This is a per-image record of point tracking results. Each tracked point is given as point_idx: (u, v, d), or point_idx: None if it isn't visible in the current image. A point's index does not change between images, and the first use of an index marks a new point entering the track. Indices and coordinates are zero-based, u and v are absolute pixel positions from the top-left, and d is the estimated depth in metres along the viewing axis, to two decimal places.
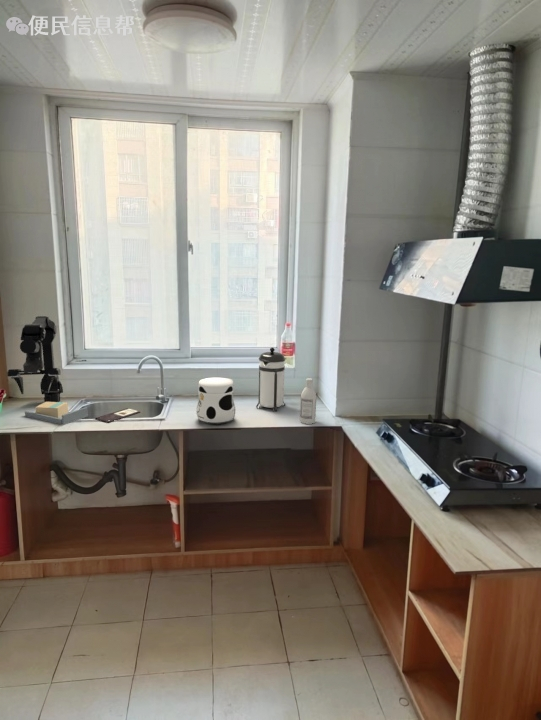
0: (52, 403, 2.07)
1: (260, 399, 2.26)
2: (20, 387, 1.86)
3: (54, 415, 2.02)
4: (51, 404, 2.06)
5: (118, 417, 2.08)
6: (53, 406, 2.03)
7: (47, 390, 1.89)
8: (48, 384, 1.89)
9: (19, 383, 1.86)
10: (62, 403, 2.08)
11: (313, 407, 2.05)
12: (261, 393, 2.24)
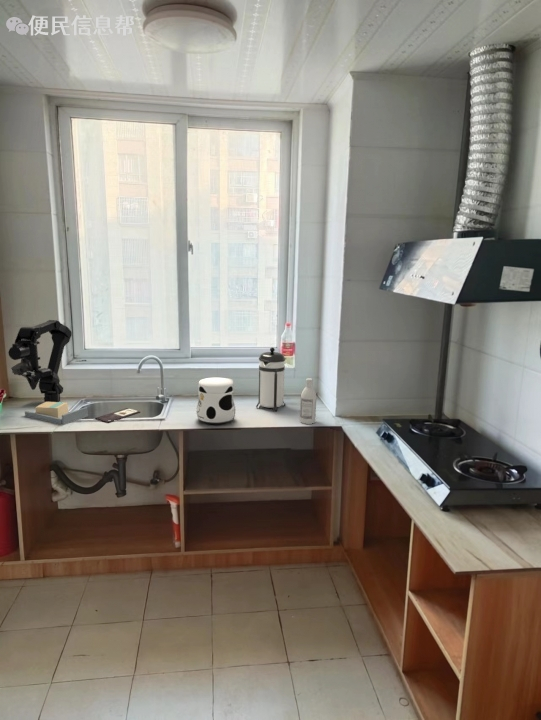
0: (52, 403, 2.07)
1: (260, 399, 2.26)
2: (29, 383, 2.08)
3: (54, 415, 2.02)
4: (51, 404, 2.06)
5: (118, 417, 2.08)
6: (53, 406, 2.03)
7: (32, 387, 2.08)
8: (31, 382, 2.07)
9: (28, 380, 2.07)
10: (62, 403, 2.08)
11: (313, 407, 2.05)
12: (261, 393, 2.24)
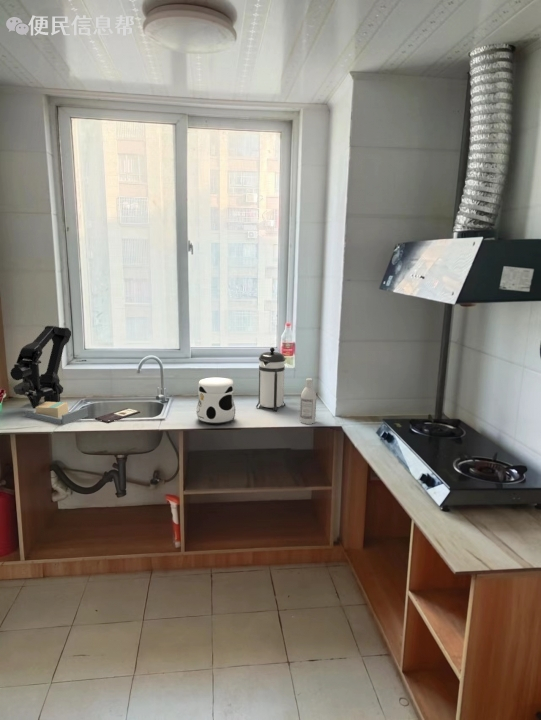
0: (52, 403, 2.07)
1: (260, 399, 2.26)
2: (31, 402, 2.09)
3: (54, 415, 2.02)
4: (51, 404, 2.06)
5: (118, 417, 2.08)
6: (53, 406, 2.03)
7: (34, 406, 2.10)
8: (33, 401, 2.08)
9: (30, 399, 2.09)
10: (62, 403, 2.08)
11: (313, 407, 2.05)
12: (261, 393, 2.24)
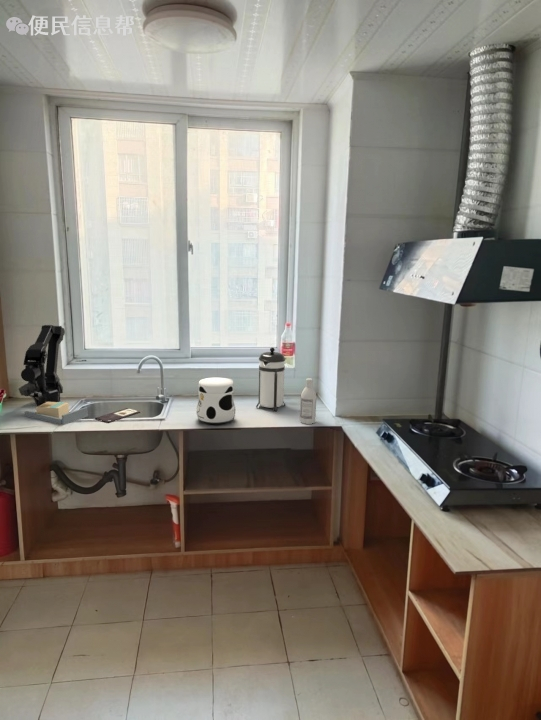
0: (53, 403, 2.07)
1: (260, 399, 2.26)
2: (36, 404, 2.08)
3: (55, 415, 2.02)
4: (52, 404, 2.06)
5: (118, 417, 2.08)
6: (54, 406, 2.03)
7: None
8: (38, 403, 2.07)
9: (35, 400, 2.07)
10: (63, 403, 2.07)
11: (313, 407, 2.05)
12: (261, 393, 2.24)
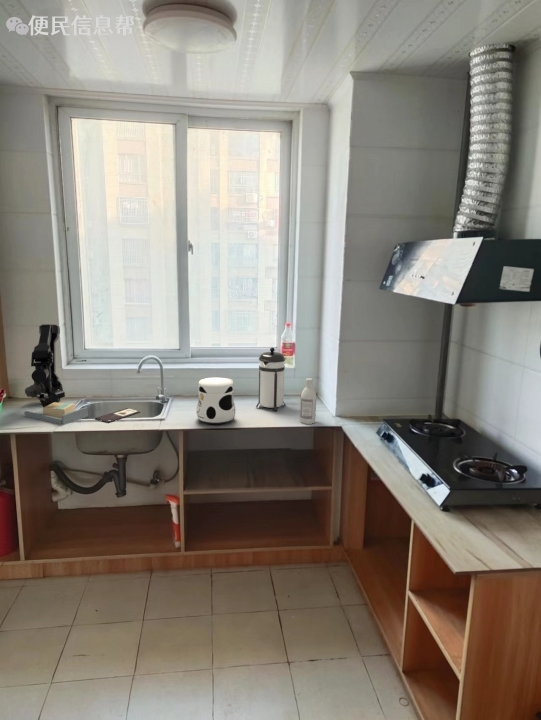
0: (59, 404, 2.06)
1: (260, 399, 2.26)
2: (42, 405, 2.06)
3: (61, 416, 2.01)
4: (58, 405, 2.05)
5: (118, 417, 2.08)
6: (60, 407, 2.02)
7: None
8: (44, 404, 2.05)
9: (41, 402, 2.06)
10: (69, 404, 2.06)
11: (313, 407, 2.05)
12: (261, 393, 2.24)
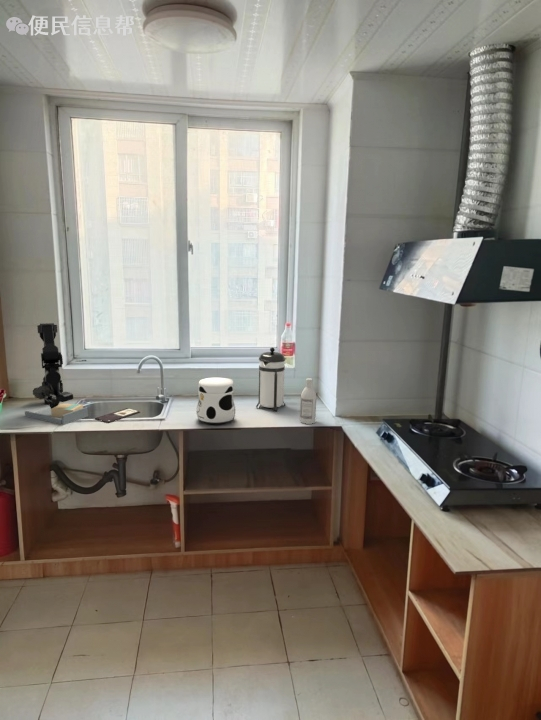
0: (67, 405, 2.05)
1: (260, 399, 2.26)
2: (50, 407, 2.04)
3: None
4: (66, 406, 2.04)
5: (118, 417, 2.08)
6: (68, 408, 2.01)
7: None
8: (51, 405, 2.04)
9: (49, 403, 2.04)
10: (77, 405, 2.05)
11: (313, 407, 2.05)
12: (261, 393, 2.24)
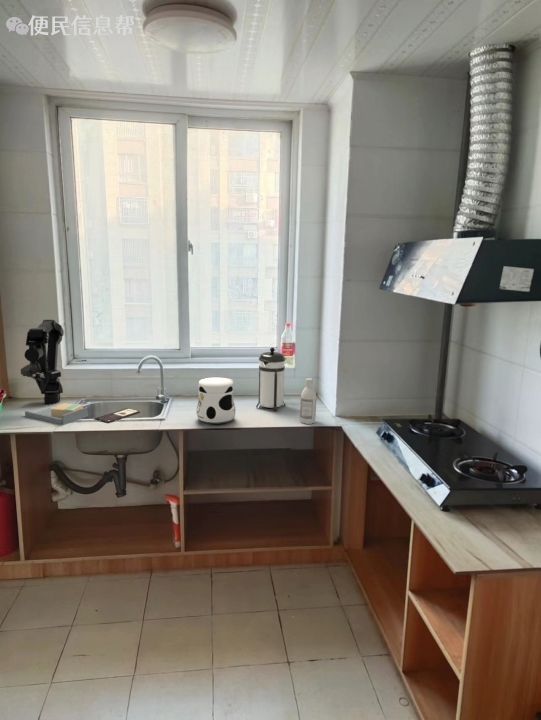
0: (67, 405, 2.05)
1: (260, 399, 2.26)
2: (38, 385, 2.06)
3: None
4: (66, 406, 2.04)
5: (118, 417, 2.08)
6: (68, 408, 2.01)
7: (41, 389, 2.07)
8: (40, 384, 2.06)
9: (37, 382, 2.06)
10: (77, 405, 2.05)
11: (313, 407, 2.05)
12: (261, 393, 2.24)
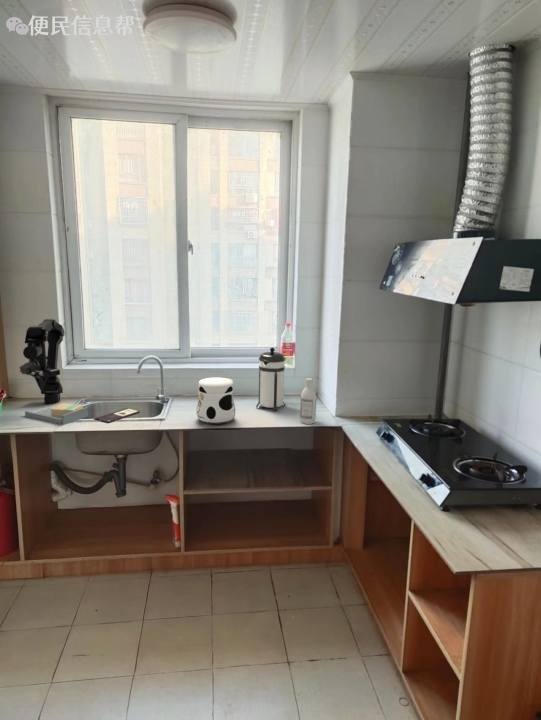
0: (67, 405, 2.05)
1: (260, 399, 2.26)
2: (37, 383, 2.07)
3: None
4: (66, 406, 2.04)
5: (118, 417, 2.08)
6: (68, 408, 2.01)
7: (40, 387, 2.07)
8: (40, 382, 2.06)
9: (36, 380, 2.06)
10: (77, 405, 2.05)
11: (313, 407, 2.05)
12: (261, 393, 2.24)
